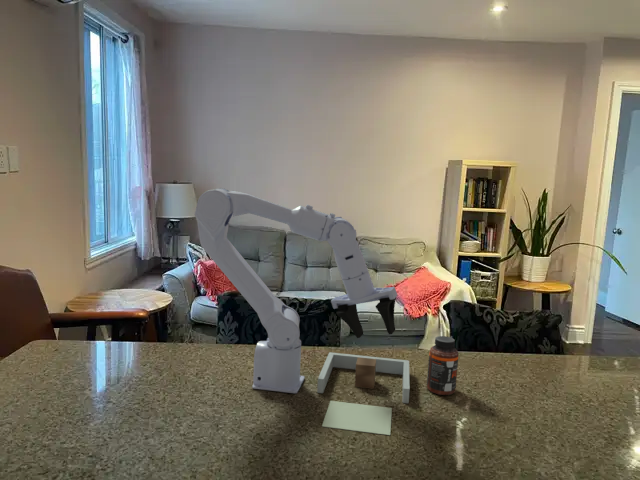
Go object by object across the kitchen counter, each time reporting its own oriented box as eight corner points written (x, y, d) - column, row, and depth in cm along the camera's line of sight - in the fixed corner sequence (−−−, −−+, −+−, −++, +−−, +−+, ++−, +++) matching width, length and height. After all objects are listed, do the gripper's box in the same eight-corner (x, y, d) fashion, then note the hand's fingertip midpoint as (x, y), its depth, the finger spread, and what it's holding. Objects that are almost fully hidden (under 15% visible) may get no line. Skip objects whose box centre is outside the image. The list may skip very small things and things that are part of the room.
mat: (321, 426, 86) (321, 426, 86) (330, 401, 96) (330, 400, 96) (390, 435, 84) (390, 434, 84) (391, 408, 94) (391, 408, 94)
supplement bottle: (456, 398, 100) (461, 345, 98) (426, 394, 101) (430, 342, 99) (454, 386, 105) (458, 335, 104) (426, 382, 107) (430, 332, 105)
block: (354, 386, 103) (356, 364, 102) (356, 379, 107) (357, 357, 106) (373, 388, 102) (375, 366, 102) (374, 381, 106) (376, 359, 106)
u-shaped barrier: (317, 392, 99) (317, 378, 99) (328, 364, 114) (329, 352, 114) (408, 403, 96) (409, 389, 96) (408, 373, 111) (409, 360, 111)
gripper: (393, 261, 99) (413, 321, 101) (334, 273, 107) (354, 329, 109) (380, 273, 94) (402, 337, 96) (319, 285, 102) (340, 344, 103)
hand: (375, 333), depth 102 cm, fingers open, 7 cm apart
